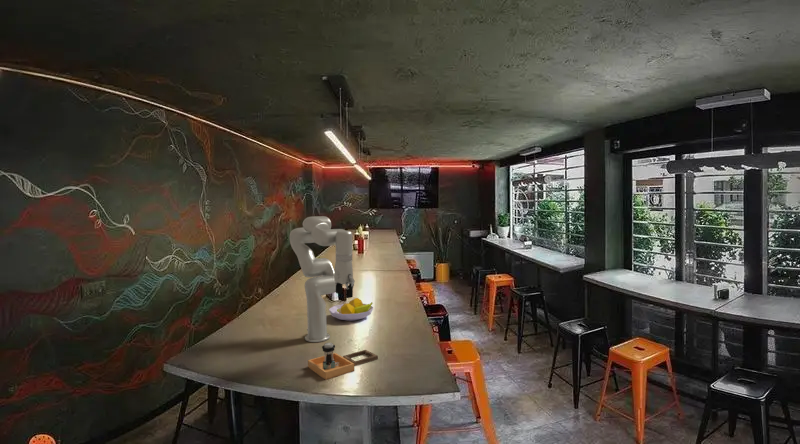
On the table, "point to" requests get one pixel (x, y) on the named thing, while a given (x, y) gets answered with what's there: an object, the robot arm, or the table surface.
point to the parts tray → (341, 369)
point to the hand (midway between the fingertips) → (344, 295)
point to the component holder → (362, 361)
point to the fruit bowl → (351, 310)
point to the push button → (328, 356)
